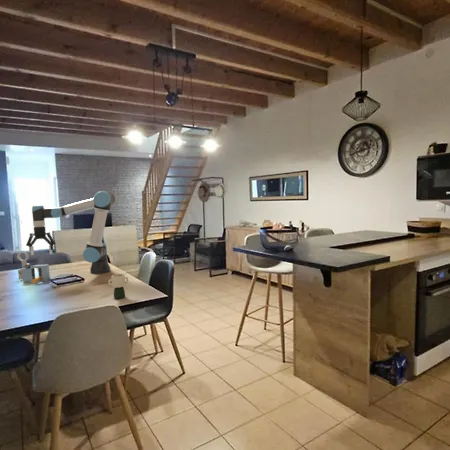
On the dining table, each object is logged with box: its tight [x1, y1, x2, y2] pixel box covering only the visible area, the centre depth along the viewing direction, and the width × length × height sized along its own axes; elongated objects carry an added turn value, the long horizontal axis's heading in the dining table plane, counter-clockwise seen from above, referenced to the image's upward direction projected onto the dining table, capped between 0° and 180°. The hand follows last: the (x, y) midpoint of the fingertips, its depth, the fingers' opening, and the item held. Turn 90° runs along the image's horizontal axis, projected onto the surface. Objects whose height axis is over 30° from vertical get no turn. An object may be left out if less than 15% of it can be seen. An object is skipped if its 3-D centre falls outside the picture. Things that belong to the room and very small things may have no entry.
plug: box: [31, 268, 42, 284], centre depth 237 cm, size 17×5×9 cm, turn 3°
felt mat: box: [53, 273, 73, 278], centre depth 246 cm, size 10×15×1 cm, turn 2°
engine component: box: [16, 250, 30, 279], centre depth 251 cm, size 11×20×10 cm
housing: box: [21, 263, 51, 283], centre depth 235 cm, size 17×4×13 cm, turn 92°
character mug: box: [108, 273, 129, 299], centre depth 182 cm, size 11×7×13 cm, turn 121°
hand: (41, 254), depth 242 cm, fingers open, 13 cm apart
